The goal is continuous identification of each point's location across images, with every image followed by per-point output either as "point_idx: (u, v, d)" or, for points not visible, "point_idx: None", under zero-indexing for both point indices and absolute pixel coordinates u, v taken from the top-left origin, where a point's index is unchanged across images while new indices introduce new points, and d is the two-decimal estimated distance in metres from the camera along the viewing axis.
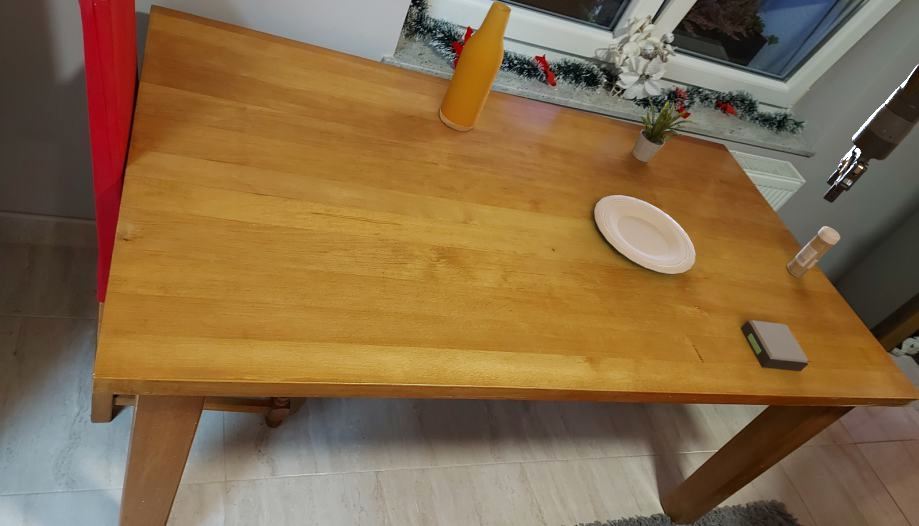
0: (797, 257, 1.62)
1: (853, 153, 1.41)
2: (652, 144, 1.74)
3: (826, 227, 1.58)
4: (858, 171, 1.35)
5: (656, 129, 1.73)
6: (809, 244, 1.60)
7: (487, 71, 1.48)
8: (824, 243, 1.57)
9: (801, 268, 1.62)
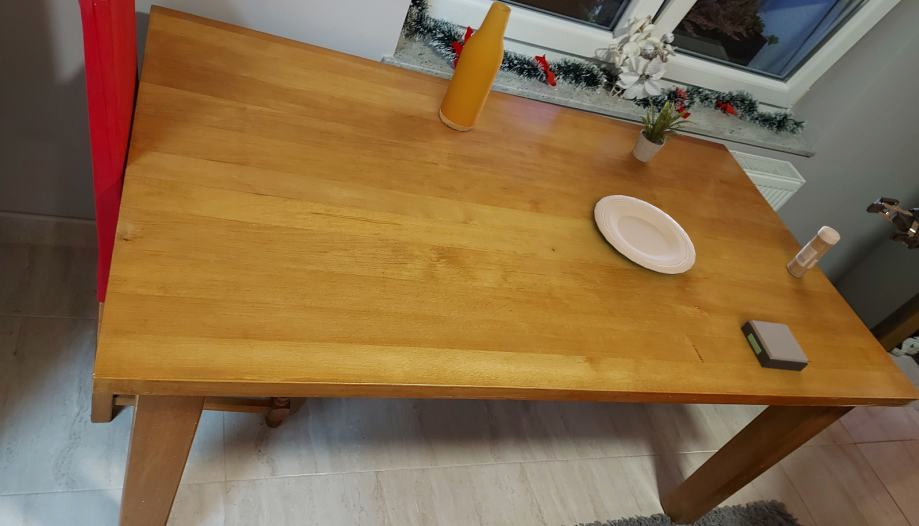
0: (797, 257, 1.62)
1: None
2: (652, 144, 1.74)
3: (826, 227, 1.58)
4: None
5: (656, 129, 1.73)
6: (809, 244, 1.60)
7: (487, 71, 1.48)
8: (824, 243, 1.57)
9: (801, 268, 1.62)
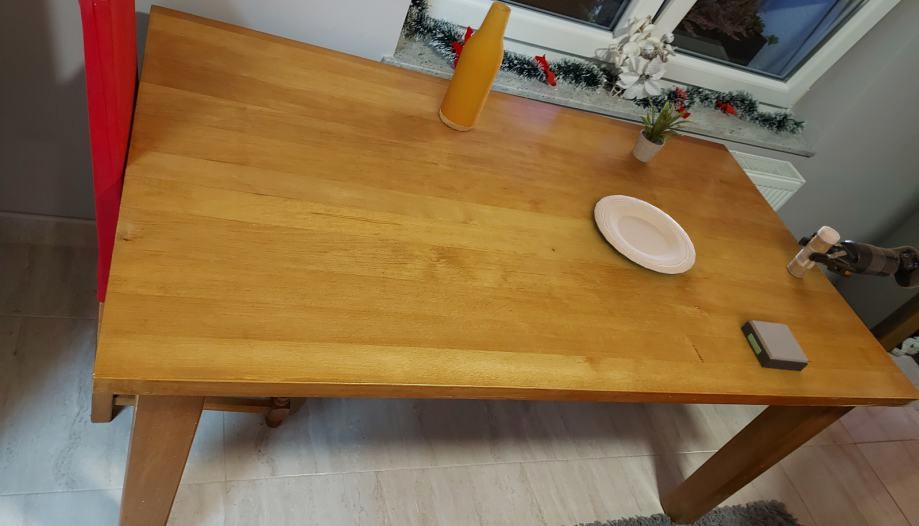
0: (797, 257, 1.62)
1: None
2: (652, 144, 1.74)
3: (826, 227, 1.58)
4: None
5: (656, 129, 1.73)
6: (809, 244, 1.60)
7: (487, 71, 1.48)
8: (824, 243, 1.57)
9: (801, 268, 1.62)
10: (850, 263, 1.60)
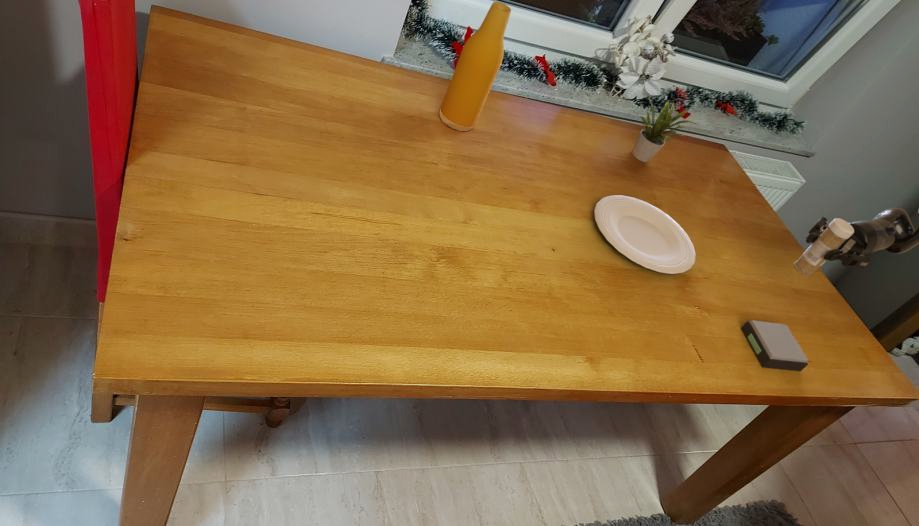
0: (806, 256, 1.43)
1: None
2: (652, 144, 1.74)
3: (837, 220, 1.38)
4: None
5: (656, 129, 1.73)
6: (820, 241, 1.40)
7: (487, 71, 1.48)
8: (839, 239, 1.38)
9: (813, 267, 1.43)
10: (861, 251, 1.43)
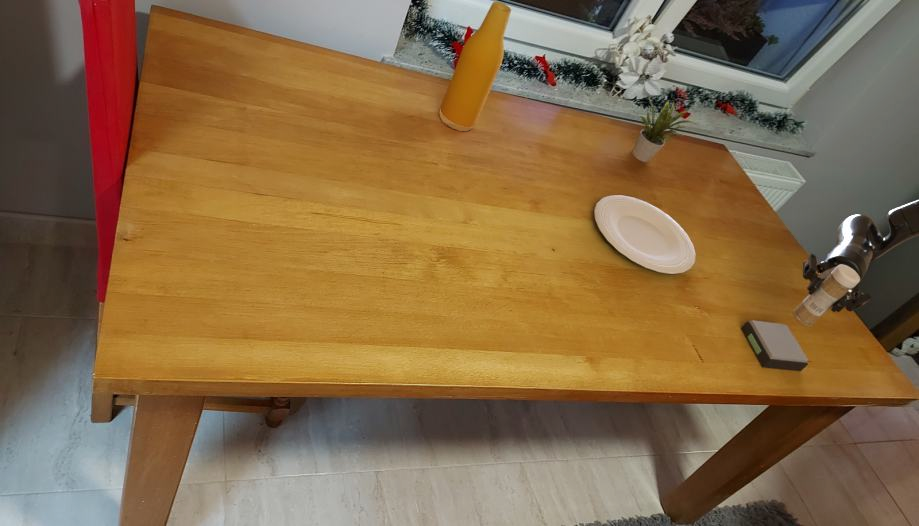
0: (810, 307, 1.30)
1: None
2: (652, 144, 1.74)
3: (841, 268, 1.25)
4: (807, 259, 1.35)
5: (656, 129, 1.73)
6: (825, 292, 1.27)
7: (487, 71, 1.48)
8: (847, 289, 1.25)
9: (817, 318, 1.30)
10: (858, 287, 1.32)
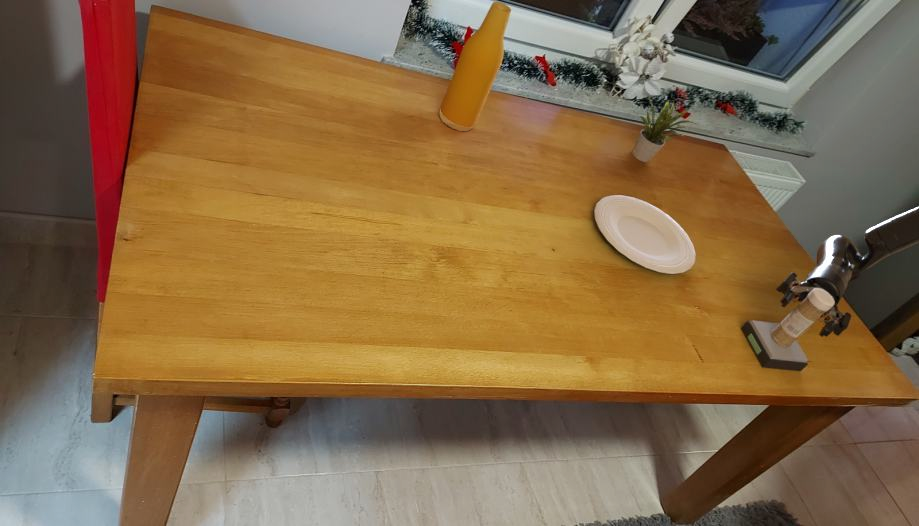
0: (787, 329, 1.34)
1: None
2: (652, 144, 1.74)
3: (816, 292, 1.29)
4: None
5: (656, 129, 1.73)
6: (801, 314, 1.31)
7: (487, 71, 1.48)
8: (822, 312, 1.29)
9: (794, 339, 1.35)
10: (837, 307, 1.36)
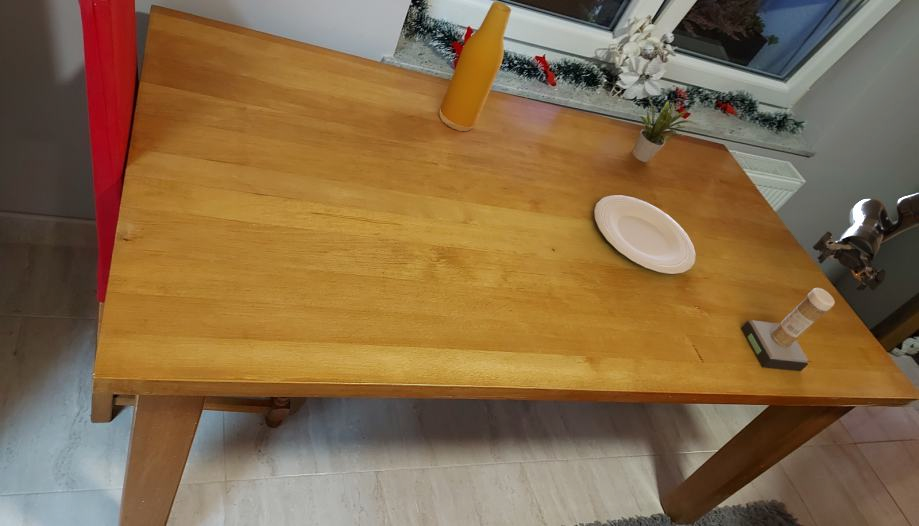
0: (787, 329, 1.34)
1: None
2: (652, 144, 1.74)
3: (816, 292, 1.29)
4: None
5: (656, 129, 1.73)
6: (801, 314, 1.31)
7: (487, 71, 1.48)
8: (822, 312, 1.29)
9: (794, 339, 1.35)
10: (872, 264, 1.40)
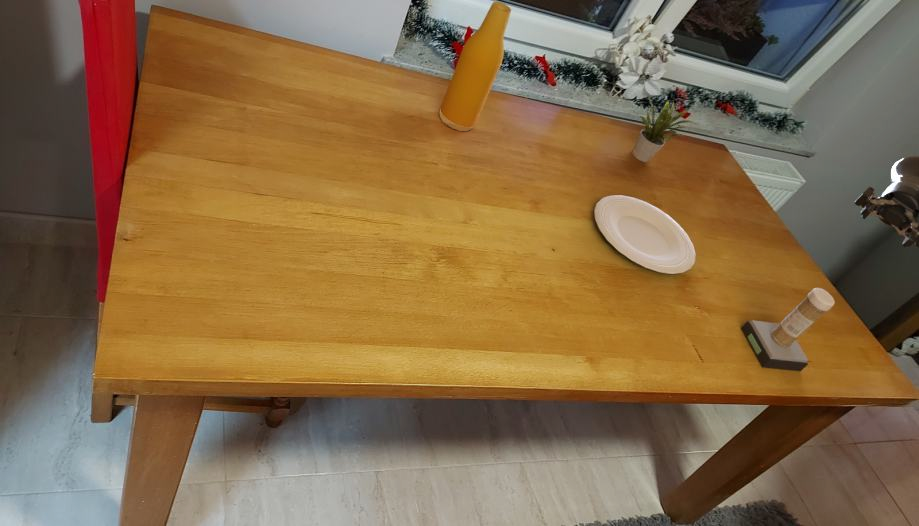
0: (787, 329, 1.34)
1: None
2: (652, 144, 1.74)
3: (816, 292, 1.29)
4: None
5: (656, 129, 1.73)
6: (801, 314, 1.31)
7: (487, 71, 1.48)
8: (822, 312, 1.29)
9: (794, 339, 1.35)
10: (917, 221, 1.33)
